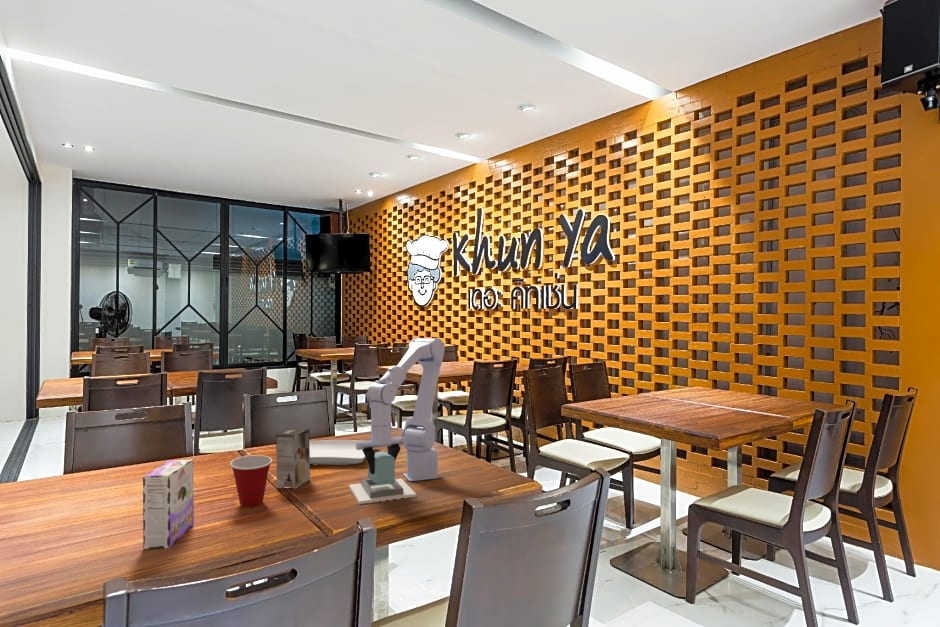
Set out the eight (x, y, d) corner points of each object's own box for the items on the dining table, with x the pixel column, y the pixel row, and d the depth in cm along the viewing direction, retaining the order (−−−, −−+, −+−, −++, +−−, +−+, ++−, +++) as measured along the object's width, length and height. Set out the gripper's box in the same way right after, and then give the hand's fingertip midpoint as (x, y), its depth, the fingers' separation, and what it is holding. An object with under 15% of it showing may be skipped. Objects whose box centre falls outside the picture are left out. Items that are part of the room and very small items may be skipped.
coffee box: (291, 479, 177) (291, 428, 176) (310, 480, 175) (310, 428, 175) (275, 488, 168) (275, 434, 168) (295, 489, 166) (295, 435, 166)
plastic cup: (232, 513, 147) (231, 467, 147) (228, 501, 156) (228, 458, 156) (275, 506, 152) (275, 461, 152) (269, 495, 161) (269, 453, 161)
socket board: (401, 481, 174) (401, 473, 174) (416, 496, 159) (416, 488, 159) (349, 487, 168) (349, 479, 168) (359, 504, 153) (359, 495, 153)
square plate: (364, 468, 190) (364, 456, 190) (283, 468, 190) (283, 457, 190) (378, 449, 217) (378, 438, 217) (307, 449, 217) (307, 439, 217)
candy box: (169, 526, 138) (169, 459, 138) (194, 525, 139) (194, 458, 139) (142, 550, 124) (141, 475, 124) (169, 548, 125) (169, 474, 125)
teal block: (394, 482, 161) (394, 457, 161) (377, 484, 158) (377, 459, 158) (384, 474, 168) (384, 451, 169) (367, 477, 166) (367, 453, 166)
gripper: (400, 420, 170) (400, 465, 170) (352, 424, 163) (352, 471, 163) (408, 424, 164) (408, 471, 164) (359, 429, 157) (359, 478, 157)
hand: (381, 471), depth 163 cm, fingers closed on teal block, 5 cm apart
